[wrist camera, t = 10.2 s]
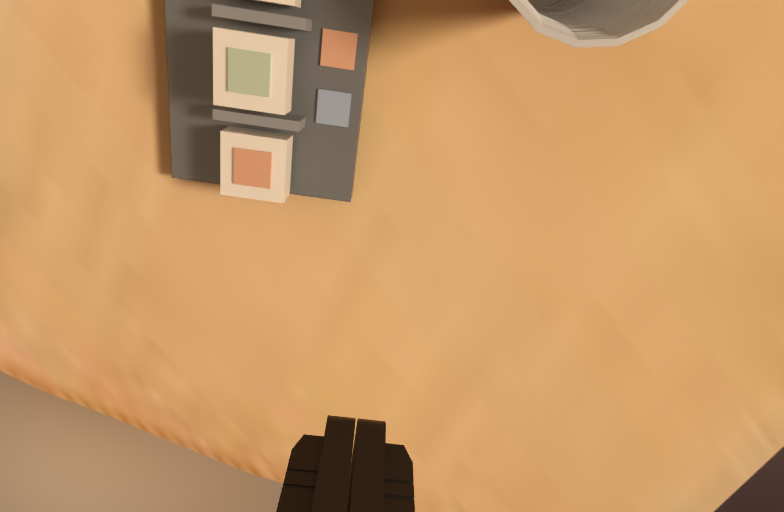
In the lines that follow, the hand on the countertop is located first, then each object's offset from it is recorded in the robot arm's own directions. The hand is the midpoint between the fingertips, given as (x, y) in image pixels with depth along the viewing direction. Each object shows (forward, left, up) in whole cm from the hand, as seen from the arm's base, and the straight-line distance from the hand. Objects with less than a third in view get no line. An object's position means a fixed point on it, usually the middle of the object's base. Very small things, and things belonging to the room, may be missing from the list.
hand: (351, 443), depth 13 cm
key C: (0, -9, -28) cm, 30 cm away
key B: (-7, -9, -27) cm, 29 cm away
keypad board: (-6, -9, -29) cm, 31 cm away
